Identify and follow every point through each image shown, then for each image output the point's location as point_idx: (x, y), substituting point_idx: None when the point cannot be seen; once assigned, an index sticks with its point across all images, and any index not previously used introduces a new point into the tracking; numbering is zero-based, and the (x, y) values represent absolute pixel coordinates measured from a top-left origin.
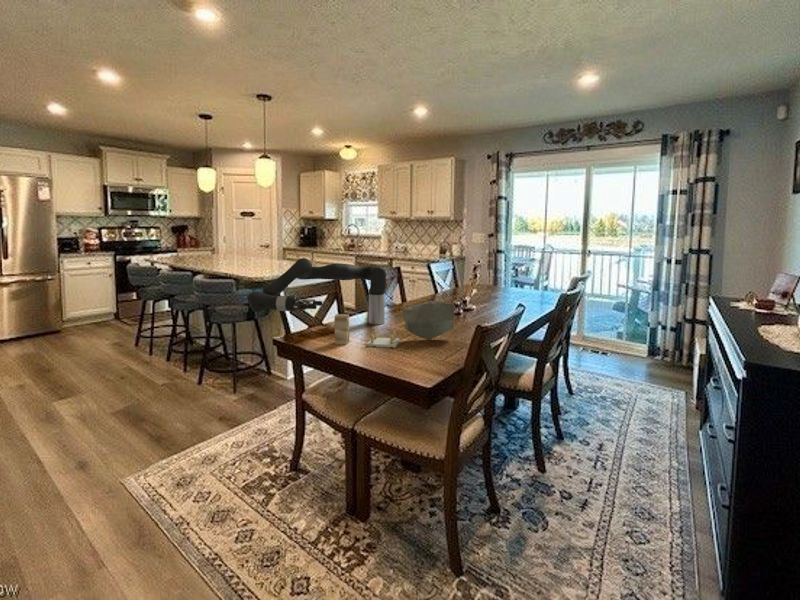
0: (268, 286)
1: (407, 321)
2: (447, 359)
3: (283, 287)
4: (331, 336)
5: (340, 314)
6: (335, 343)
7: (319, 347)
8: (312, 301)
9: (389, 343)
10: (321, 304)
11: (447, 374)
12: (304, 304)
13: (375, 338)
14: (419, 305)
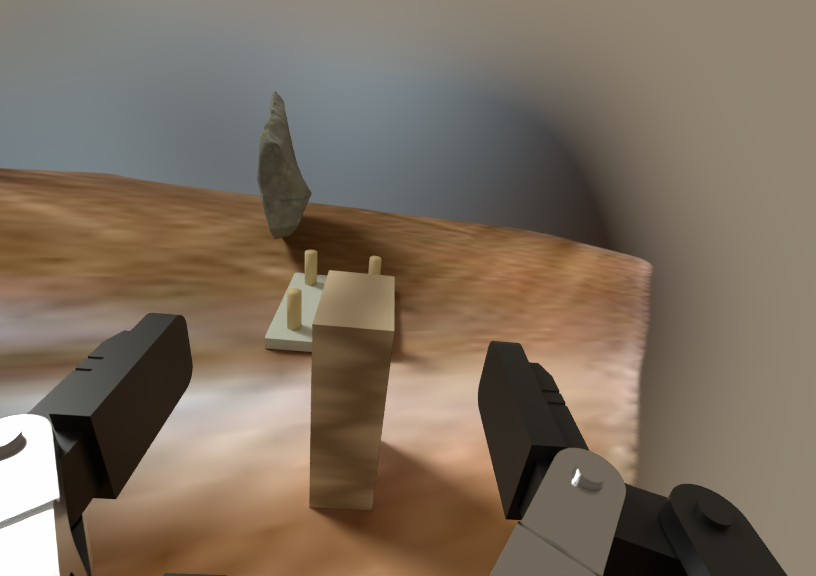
0: None
1: (309, 191)
2: (462, 230)
3: None
4: None
5: (327, 305)
6: (372, 505)
7: None
8: (64, 480)
9: None
10: (186, 364)
11: (559, 238)
12: (714, 502)
13: (301, 324)
14: (279, 117)
